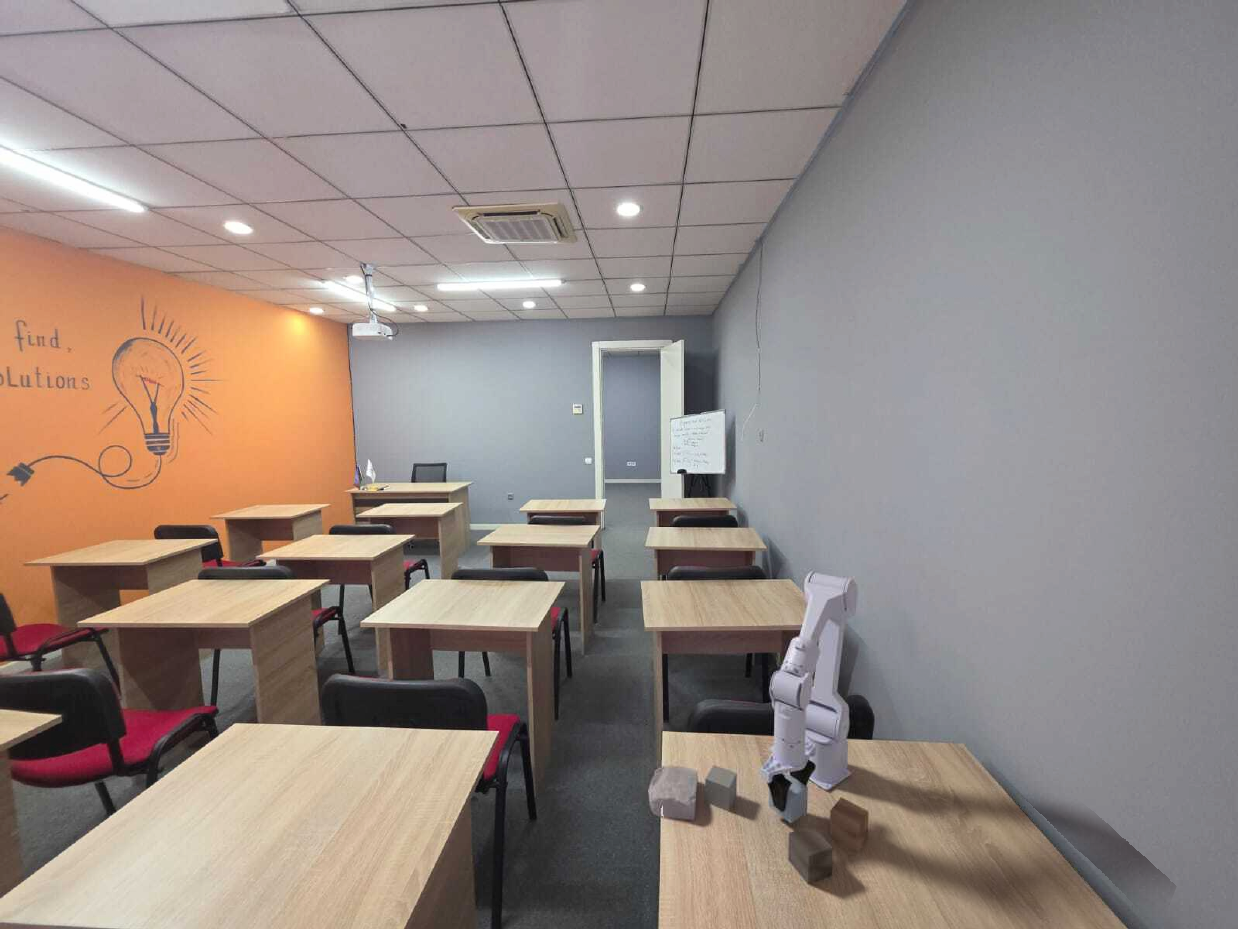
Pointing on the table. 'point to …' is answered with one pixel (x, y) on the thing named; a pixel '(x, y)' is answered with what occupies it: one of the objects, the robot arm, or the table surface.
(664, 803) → the stone block
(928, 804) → the table surface
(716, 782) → the grey cube
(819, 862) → the ebony cube
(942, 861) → the table surface
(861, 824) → the walnut cube
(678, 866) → the table surface
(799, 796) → the slate blue cube
